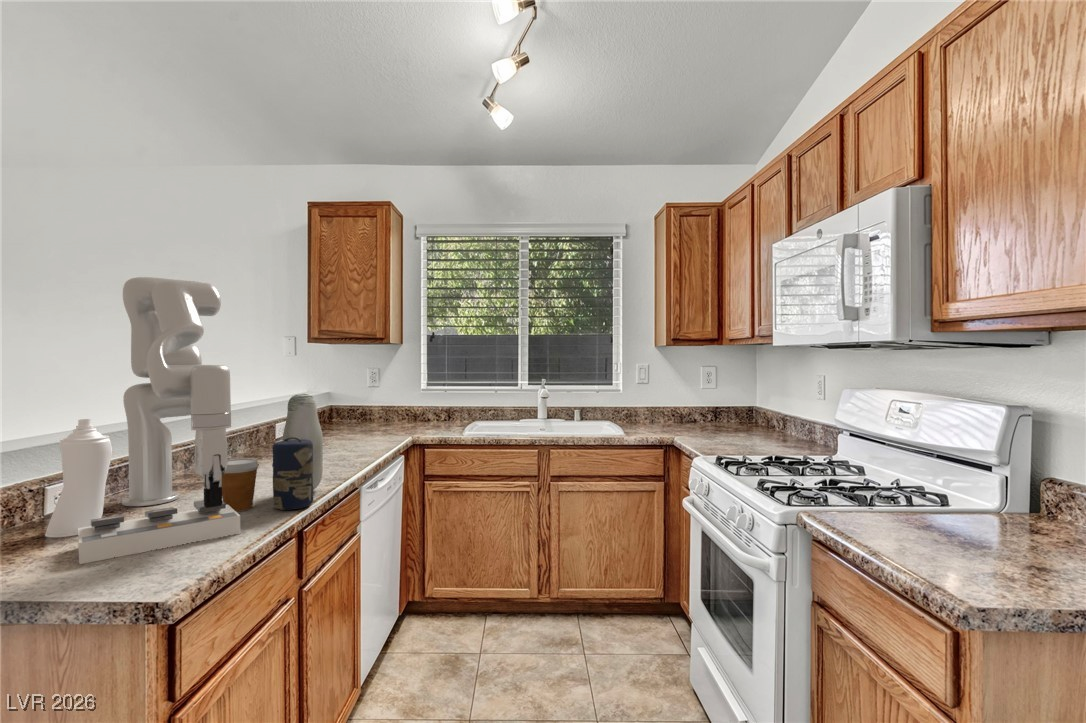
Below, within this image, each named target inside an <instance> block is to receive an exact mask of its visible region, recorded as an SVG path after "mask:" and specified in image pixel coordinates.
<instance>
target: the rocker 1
mask: <svg viewBox="0 0 1086 723" xmlns="http://www.w3.org/2000/svg"><path fill="white" fill-rule="evenodd" d="M124 521H125V516H124V515H122V514H119V515H112V516H106V517H101V518H98V519H91V526H92V527H95V526H102V525H108V524H114V523H121V522H124Z"/></svg>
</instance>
